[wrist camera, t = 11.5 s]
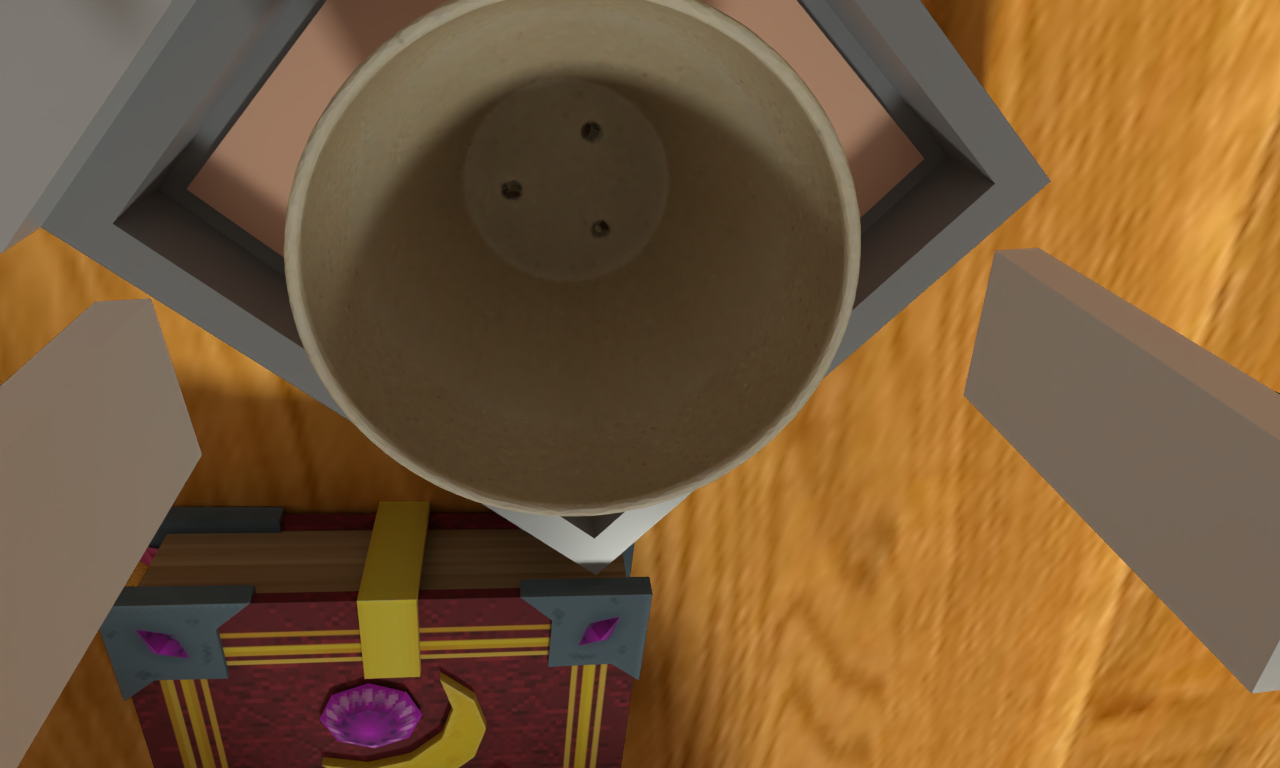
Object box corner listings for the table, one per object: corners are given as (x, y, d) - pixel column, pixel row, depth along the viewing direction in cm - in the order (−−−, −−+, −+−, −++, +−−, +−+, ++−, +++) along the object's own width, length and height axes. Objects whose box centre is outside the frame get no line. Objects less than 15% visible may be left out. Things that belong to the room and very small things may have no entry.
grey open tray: (587, 501, 27) (600, 613, 23) (-65, 59, 18) (-242, 107, 14) (979, 144, 22) (1088, 200, 18) (364, -669, 14) (295, -928, 9)
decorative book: (607, 716, 33) (620, 836, 29) (181, 736, 31) (127, 870, 26) (633, 495, 28) (655, 604, 23) (115, 496, 25) (32, 619, 21)
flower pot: (816, 18, 19) (957, 71, 13) (695, 379, 24) (757, 543, 18) (379, -110, 17) (299, -117, 11) (339, 319, 21) (268, 485, 15)
